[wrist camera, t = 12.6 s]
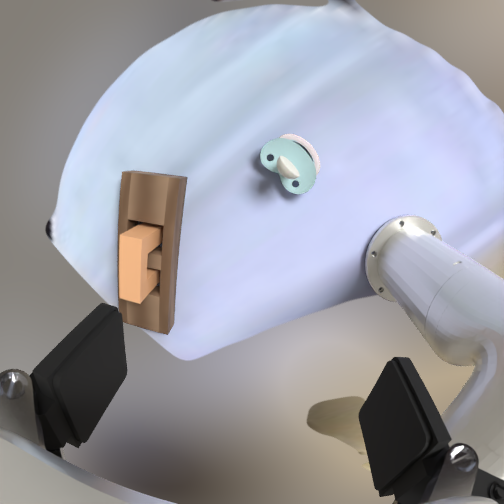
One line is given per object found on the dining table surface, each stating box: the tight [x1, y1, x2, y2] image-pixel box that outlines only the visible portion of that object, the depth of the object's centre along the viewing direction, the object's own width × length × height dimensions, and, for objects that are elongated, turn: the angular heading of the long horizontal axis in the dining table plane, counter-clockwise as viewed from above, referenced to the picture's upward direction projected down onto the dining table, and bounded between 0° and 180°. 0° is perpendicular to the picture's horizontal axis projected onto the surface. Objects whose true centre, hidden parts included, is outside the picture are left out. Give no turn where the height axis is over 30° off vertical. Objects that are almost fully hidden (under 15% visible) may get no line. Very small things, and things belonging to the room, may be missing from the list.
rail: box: [118, 171, 187, 335], centre depth 37 cm, size 8×22×3 cm, turn 170°
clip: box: [119, 222, 164, 304], centre depth 35 cm, size 3×8×7 cm, turn 170°
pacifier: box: [260, 134, 320, 194], centre depth 31 cm, size 7×6×6 cm
